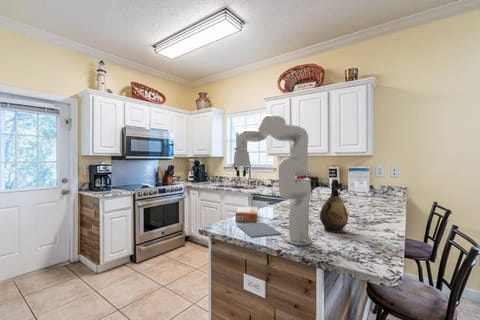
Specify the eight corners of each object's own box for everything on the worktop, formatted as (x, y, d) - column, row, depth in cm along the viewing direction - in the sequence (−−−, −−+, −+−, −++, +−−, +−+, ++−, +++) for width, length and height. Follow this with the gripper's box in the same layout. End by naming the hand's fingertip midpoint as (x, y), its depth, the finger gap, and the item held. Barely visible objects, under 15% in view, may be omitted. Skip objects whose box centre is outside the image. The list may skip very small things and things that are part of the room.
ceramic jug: (350, 235, 130) (352, 181, 130) (321, 233, 133) (322, 180, 133) (343, 226, 147) (344, 178, 146) (317, 224, 150) (318, 177, 149)
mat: (281, 234, 130) (281, 233, 130) (251, 237, 124) (251, 236, 124) (263, 223, 151) (263, 222, 151) (237, 225, 144) (237, 224, 144)
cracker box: (256, 223, 153) (257, 214, 173) (256, 213, 152) (258, 206, 173) (235, 221, 154) (238, 213, 175) (235, 212, 154) (239, 205, 175)
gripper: (231, 148, 152) (231, 177, 152) (255, 149, 158) (254, 176, 158) (228, 149, 159) (227, 176, 159) (250, 149, 165) (250, 176, 165)
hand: (241, 176), depth 159 cm, fingers open, 3 cm apart
